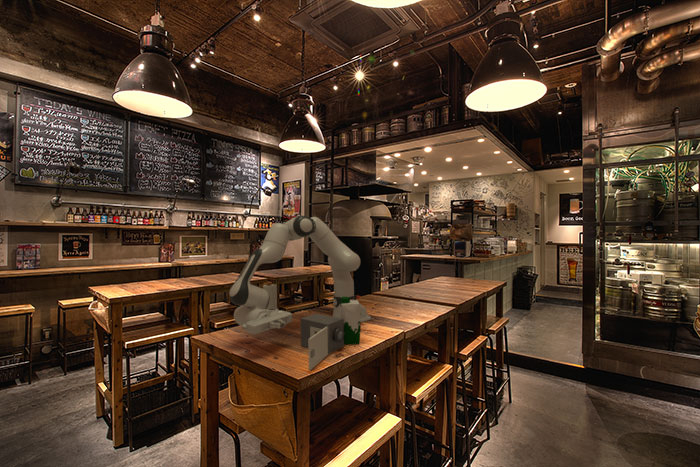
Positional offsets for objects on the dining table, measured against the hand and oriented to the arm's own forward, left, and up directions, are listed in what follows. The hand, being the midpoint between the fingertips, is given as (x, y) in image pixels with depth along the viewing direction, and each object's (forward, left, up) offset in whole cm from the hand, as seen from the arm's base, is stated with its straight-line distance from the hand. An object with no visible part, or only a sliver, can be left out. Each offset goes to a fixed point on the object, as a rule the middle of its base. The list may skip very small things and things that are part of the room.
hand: (282, 325), depth 125 cm
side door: (-9, +14, -12) cm, 21 cm away
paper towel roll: (-10, -46, -13) cm, 49 cm away
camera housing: (-18, +1, -12) cm, 22 cm away
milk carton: (-31, +2, -13) cm, 33 cm away
